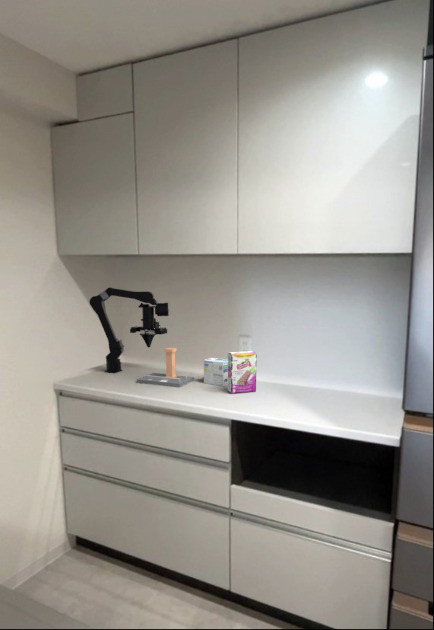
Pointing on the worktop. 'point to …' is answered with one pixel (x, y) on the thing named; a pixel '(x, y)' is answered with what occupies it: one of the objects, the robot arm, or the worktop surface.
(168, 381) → the grey base plate
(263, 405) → the worktop surface
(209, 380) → the light bulb box
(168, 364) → the orange square pillar
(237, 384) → the candy bar box
